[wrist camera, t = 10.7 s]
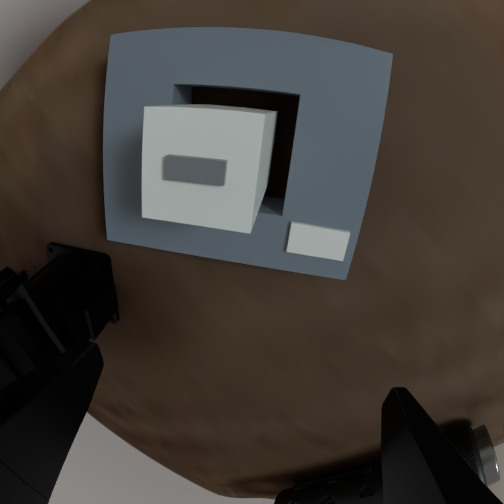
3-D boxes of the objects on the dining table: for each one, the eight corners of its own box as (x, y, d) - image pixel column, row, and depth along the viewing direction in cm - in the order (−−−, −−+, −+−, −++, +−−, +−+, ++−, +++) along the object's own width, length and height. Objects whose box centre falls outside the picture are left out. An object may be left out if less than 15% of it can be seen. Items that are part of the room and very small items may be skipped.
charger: (202, 170, 18) (138, 220, 11) (207, 104, 16) (141, 106, 9) (269, 179, 18) (249, 236, 10) (278, 111, 16) (264, 114, 9)
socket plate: (129, 221, 20) (105, 241, 17) (136, 42, 15) (109, 34, 12) (339, 255, 19) (346, 282, 16) (377, 61, 14) (394, 53, 11)
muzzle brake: (275, 474, 35) (266, 537, 26) (477, 401, 25) (502, 475, 15) (308, 491, 38) (304, 546, 28) (483, 429, 27) (500, 490, 18)
